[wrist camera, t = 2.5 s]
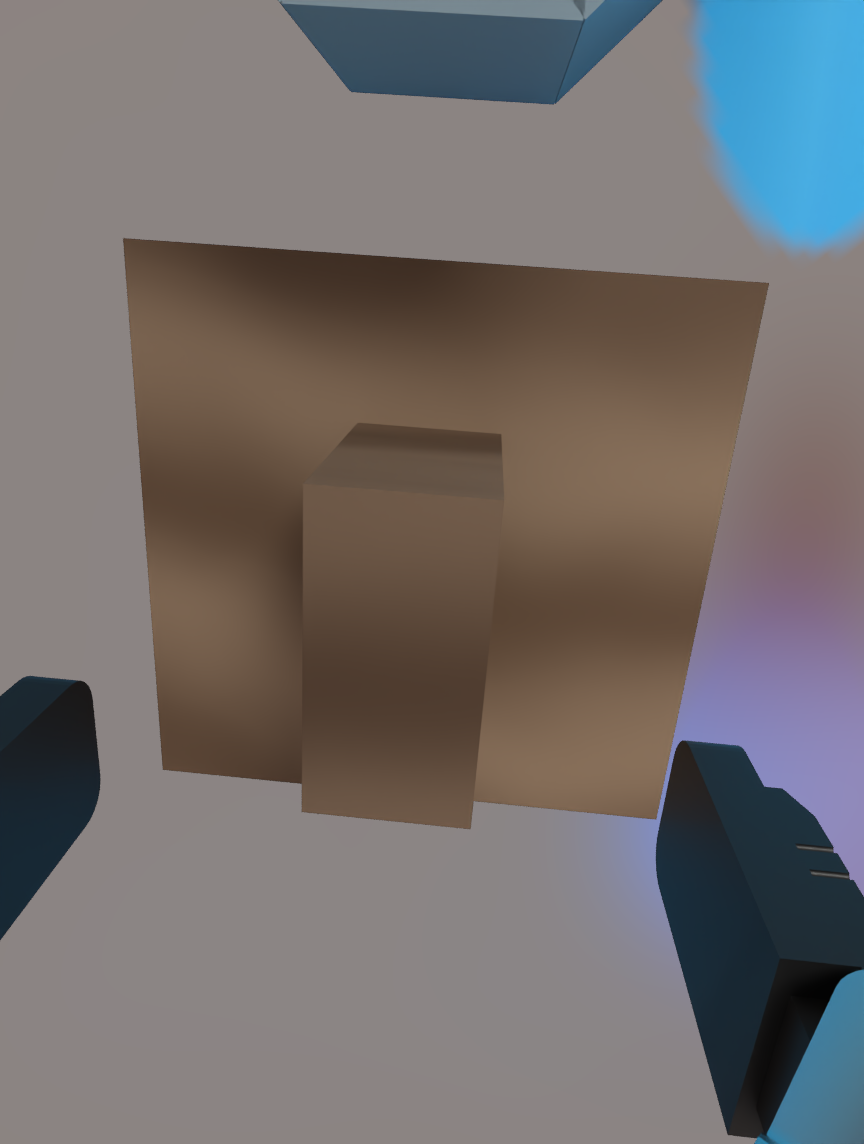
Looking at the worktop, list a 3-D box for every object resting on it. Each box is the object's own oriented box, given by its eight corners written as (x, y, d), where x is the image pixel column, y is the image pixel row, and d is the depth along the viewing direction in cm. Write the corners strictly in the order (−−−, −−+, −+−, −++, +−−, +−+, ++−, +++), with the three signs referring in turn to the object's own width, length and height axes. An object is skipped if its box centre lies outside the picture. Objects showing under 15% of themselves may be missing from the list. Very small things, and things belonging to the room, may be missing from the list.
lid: (140, 239, 16) (-41, 224, 11) (755, 282, 15) (897, 288, 10) (175, 751, 21) (61, 922, 15) (650, 798, 20) (707, 994, 15)
